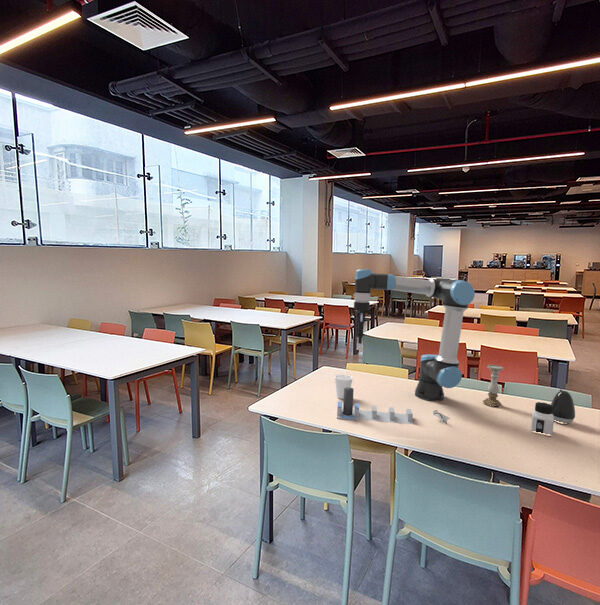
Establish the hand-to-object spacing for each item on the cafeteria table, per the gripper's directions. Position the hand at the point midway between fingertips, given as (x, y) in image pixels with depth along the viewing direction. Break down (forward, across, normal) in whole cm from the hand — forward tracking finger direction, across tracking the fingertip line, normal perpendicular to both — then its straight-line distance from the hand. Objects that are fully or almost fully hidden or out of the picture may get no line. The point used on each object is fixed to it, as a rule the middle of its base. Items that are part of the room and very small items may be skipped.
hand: (359, 349), depth 186 cm
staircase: (+30, +10, +38) cm, 50 cm away
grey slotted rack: (+29, +10, +8) cm, 32 cm away
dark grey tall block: (+29, +10, -4) cm, 31 cm away
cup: (+30, -13, -7) cm, 33 cm away
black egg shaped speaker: (+30, -4, +96) cm, 101 cm away
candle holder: (+30, -21, +71) cm, 80 cm away
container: (+30, +10, +81) cm, 87 cm away
